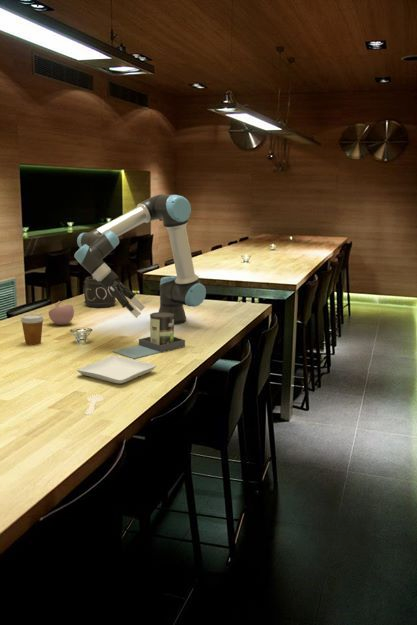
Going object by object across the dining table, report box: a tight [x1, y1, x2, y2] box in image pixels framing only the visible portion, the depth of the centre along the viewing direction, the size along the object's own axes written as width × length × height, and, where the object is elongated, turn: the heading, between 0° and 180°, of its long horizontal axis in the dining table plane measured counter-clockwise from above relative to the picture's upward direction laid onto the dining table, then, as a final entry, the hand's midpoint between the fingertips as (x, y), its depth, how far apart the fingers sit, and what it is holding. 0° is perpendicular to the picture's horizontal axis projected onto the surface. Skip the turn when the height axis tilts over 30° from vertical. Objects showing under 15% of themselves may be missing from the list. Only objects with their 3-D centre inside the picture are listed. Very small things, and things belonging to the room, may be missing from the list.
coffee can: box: [149, 311, 175, 345], centre depth 258 cm, size 10×10×14 cm
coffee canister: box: [83, 275, 117, 309], centre depth 339 cm, size 18×18×16 cm
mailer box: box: [112, 336, 186, 360], centre depth 254 cm, size 28×14×3 cm, turn 136°
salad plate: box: [76, 355, 157, 384], centre depth 220 cm, size 21×21×3 cm
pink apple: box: [48, 300, 75, 326], centre depth 293 cm, size 12×12×11 cm
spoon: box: [84, 393, 105, 416], centre depth 191 cm, size 5×18×1 cm, turn 2°
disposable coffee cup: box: [20, 313, 45, 346], centre depth 258 cm, size 10×10×12 cm
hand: (141, 312), depth 256 cm, fingers open, 13 cm apart
